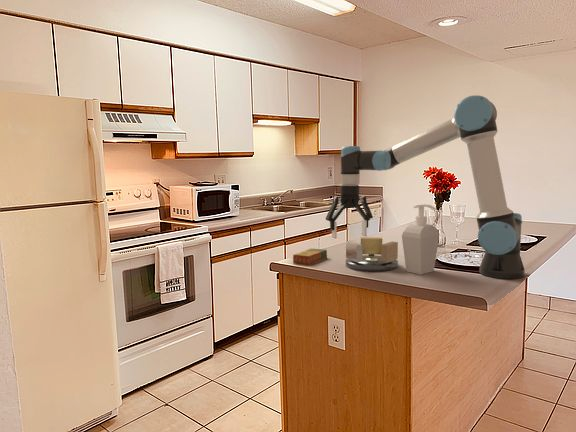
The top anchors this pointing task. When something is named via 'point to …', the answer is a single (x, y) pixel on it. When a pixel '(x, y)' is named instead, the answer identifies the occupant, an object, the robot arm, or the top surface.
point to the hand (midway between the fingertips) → (349, 236)
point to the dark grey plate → (371, 264)
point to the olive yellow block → (371, 245)
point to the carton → (310, 256)
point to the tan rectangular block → (389, 252)
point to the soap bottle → (420, 244)
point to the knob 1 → (354, 251)
